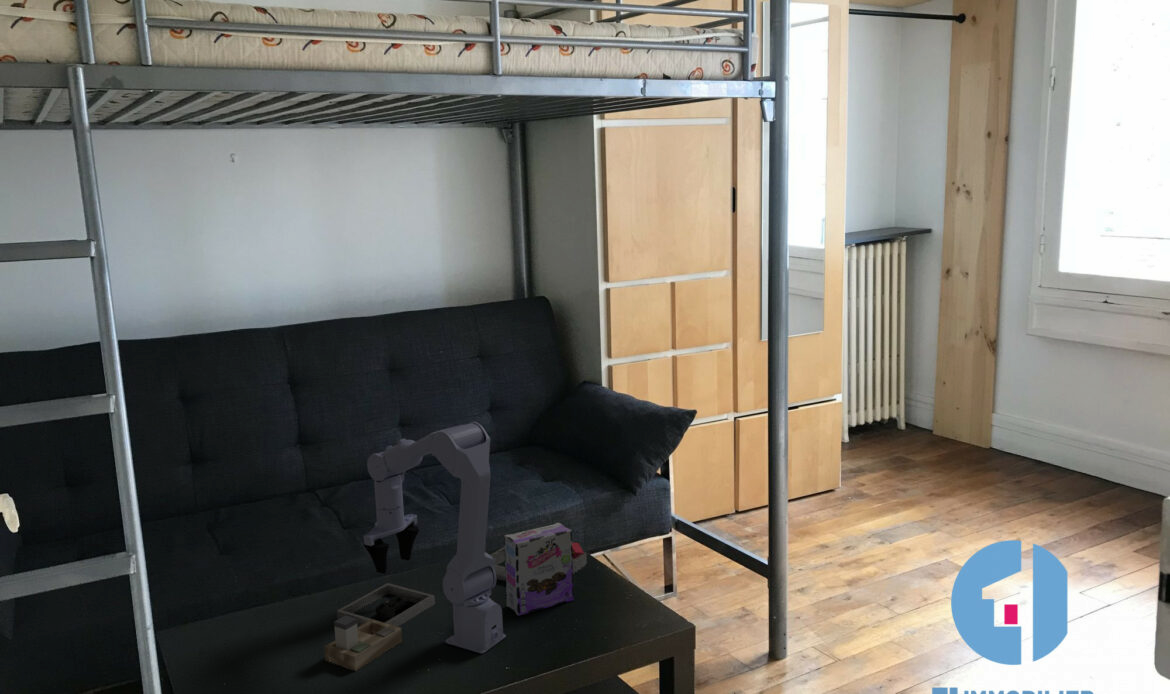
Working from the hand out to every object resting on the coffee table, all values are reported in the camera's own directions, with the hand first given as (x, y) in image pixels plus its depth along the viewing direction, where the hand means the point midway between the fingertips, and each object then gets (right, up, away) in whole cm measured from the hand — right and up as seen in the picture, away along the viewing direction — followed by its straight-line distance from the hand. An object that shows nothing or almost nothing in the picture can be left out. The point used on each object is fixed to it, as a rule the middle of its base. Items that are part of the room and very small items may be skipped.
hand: (393, 565), depth 206 cm
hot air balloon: (+34, -5, +19) cm, 39 cm away
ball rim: (+29, -5, +19) cm, 35 cm away
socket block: (-2, -13, -17) cm, 22 cm away
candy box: (+32, -9, +1) cm, 33 cm away
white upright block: (-5, -13, -20) cm, 25 cm away
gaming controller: (+1, -10, -2) cm, 11 cm away
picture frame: (-1, -10, -1) cm, 10 cm away
